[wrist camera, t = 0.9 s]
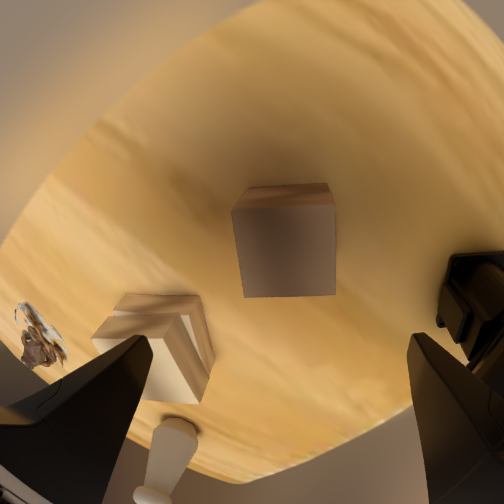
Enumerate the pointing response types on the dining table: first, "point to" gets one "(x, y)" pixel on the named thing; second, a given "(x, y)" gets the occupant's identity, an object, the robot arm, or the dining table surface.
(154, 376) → the beech slab upper
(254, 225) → the walnut cube
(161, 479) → the salt shaker
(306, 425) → the dining table surface
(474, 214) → the dining table surface
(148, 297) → the beech slab lower
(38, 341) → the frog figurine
